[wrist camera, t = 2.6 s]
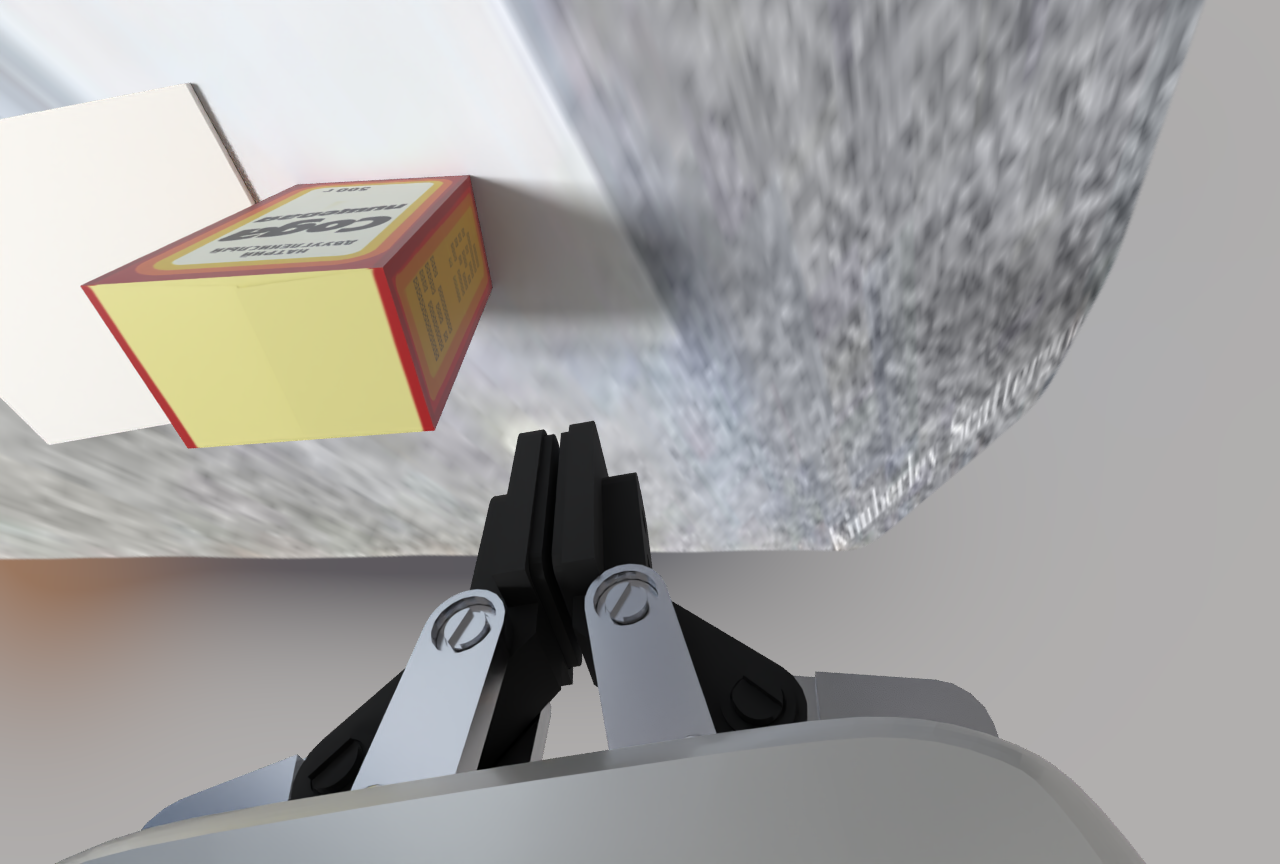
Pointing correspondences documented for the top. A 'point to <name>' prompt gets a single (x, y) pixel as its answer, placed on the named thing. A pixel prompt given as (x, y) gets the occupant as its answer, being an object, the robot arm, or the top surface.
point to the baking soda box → (307, 312)
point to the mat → (95, 245)
